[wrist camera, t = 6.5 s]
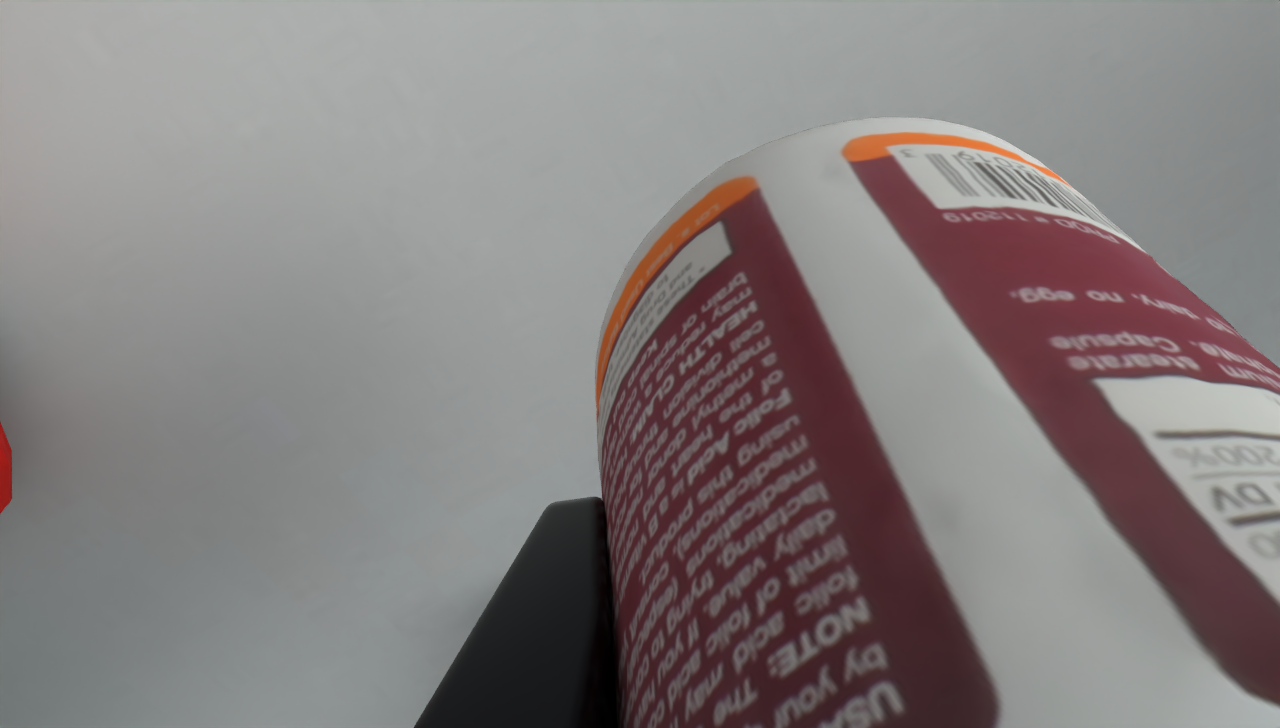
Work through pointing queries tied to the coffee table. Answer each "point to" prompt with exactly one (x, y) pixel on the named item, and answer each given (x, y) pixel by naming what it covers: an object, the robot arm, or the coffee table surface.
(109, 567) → the coffee table surface
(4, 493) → the toy car
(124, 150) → the coffee table surface
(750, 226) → the pill bottle
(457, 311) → the coffee table surface
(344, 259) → the coffee table surface
